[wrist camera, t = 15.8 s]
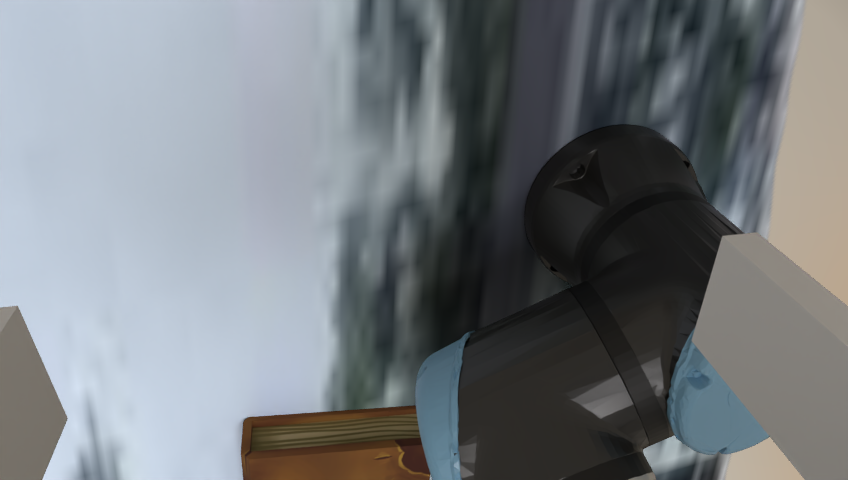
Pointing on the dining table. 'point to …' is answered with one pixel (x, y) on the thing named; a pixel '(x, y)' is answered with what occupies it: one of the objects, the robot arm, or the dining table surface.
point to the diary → (335, 446)
